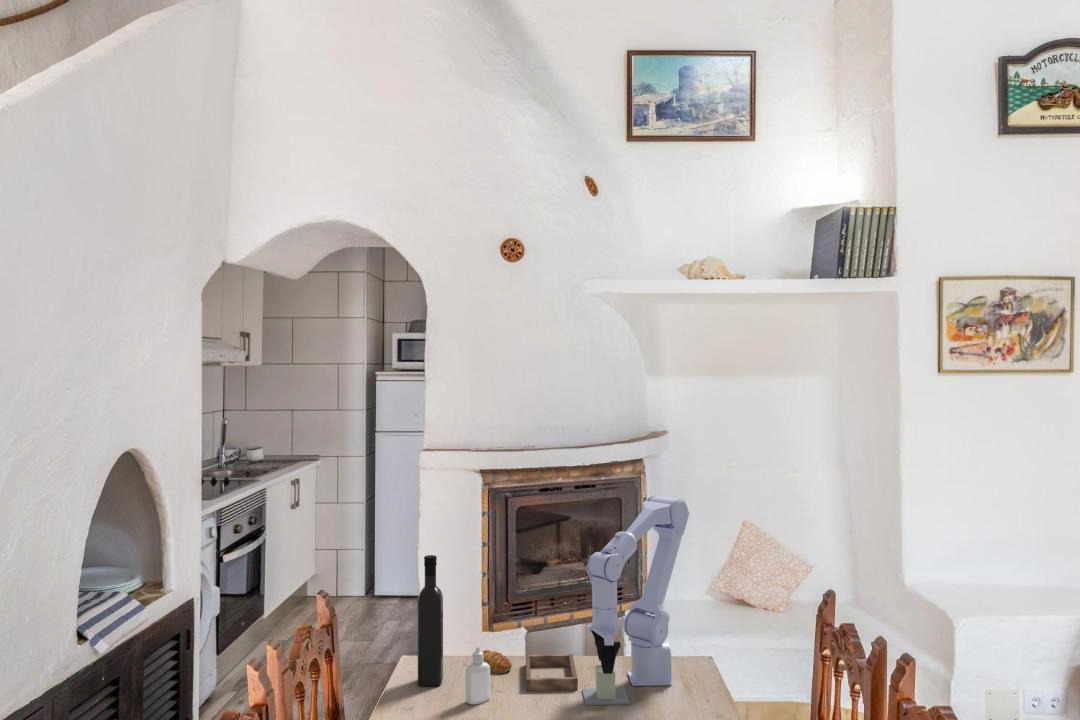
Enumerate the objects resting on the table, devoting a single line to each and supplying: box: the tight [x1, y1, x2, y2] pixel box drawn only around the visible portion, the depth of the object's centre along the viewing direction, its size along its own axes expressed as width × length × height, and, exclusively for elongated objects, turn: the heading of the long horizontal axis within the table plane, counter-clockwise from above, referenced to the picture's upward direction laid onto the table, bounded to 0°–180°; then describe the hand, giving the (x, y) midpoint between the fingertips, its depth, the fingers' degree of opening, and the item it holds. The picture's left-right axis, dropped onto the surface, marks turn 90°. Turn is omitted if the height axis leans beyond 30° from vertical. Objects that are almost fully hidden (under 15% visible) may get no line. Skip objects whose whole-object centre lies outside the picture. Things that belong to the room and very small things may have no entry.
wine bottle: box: [417, 554, 444, 687], centre depth 176 cm, size 6×6×30 cm
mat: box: [581, 687, 631, 706], centre depth 166 cm, size 10×8×1 cm
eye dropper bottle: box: [465, 646, 491, 706], centre depth 165 cm, size 4×6×12 cm
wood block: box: [595, 664, 616, 699], centre depth 166 cm, size 4×4×6 cm
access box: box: [525, 653, 579, 692], centre depth 178 cm, size 12×16×2 cm
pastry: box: [481, 649, 513, 674], centre depth 184 cm, size 9×7×4 cm
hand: (605, 666), depth 166 cm, fingers open, 7 cm apart
